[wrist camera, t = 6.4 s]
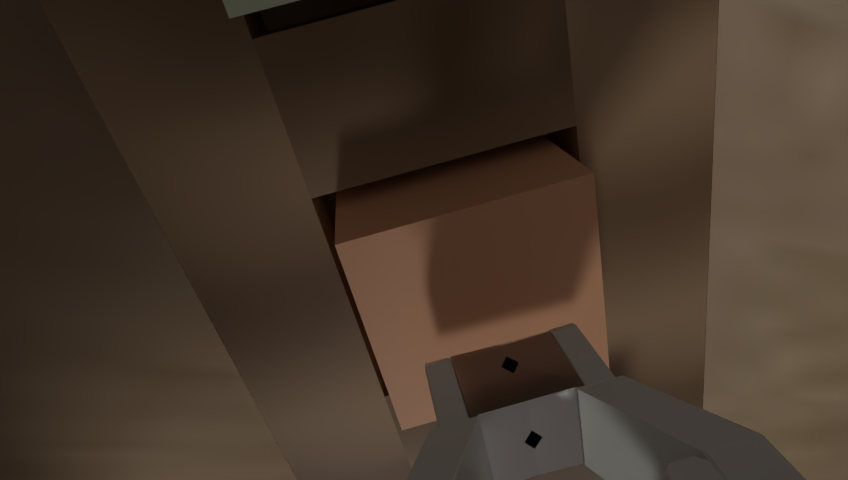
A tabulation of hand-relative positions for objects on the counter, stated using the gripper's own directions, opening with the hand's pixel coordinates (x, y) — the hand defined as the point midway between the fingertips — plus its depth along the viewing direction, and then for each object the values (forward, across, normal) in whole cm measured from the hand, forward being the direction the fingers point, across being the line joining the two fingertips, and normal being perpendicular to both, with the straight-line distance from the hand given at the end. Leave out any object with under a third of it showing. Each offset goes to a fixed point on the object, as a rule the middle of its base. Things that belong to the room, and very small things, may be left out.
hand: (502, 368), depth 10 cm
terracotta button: (+4, 0, +1) cm, 5 cm away
